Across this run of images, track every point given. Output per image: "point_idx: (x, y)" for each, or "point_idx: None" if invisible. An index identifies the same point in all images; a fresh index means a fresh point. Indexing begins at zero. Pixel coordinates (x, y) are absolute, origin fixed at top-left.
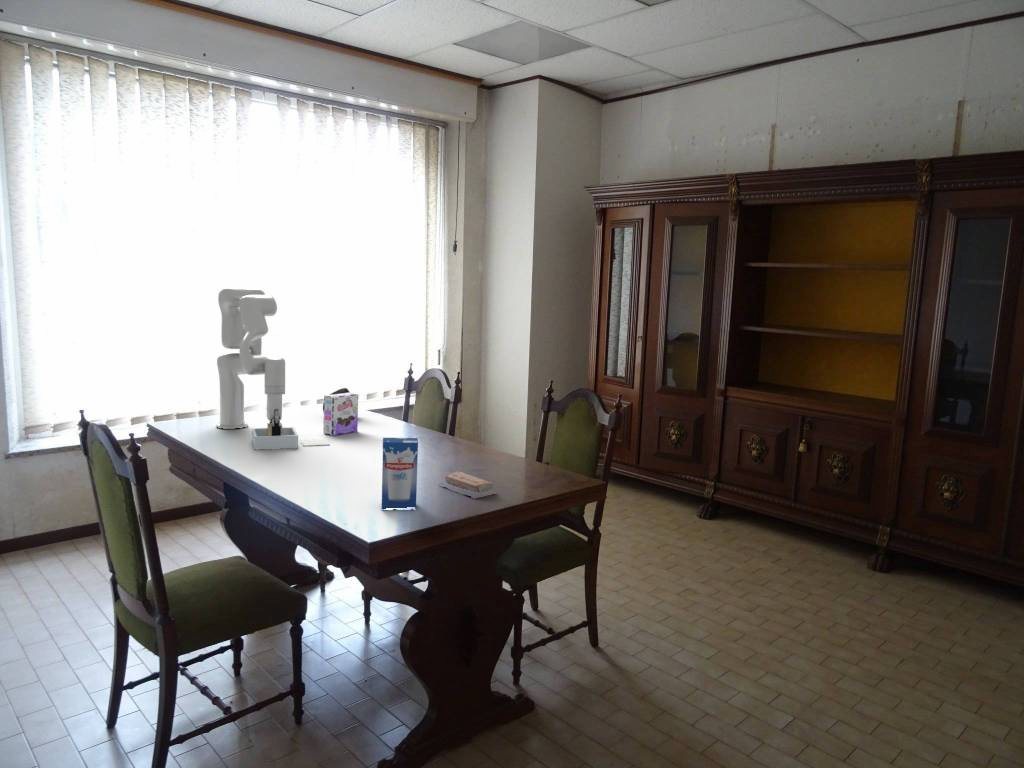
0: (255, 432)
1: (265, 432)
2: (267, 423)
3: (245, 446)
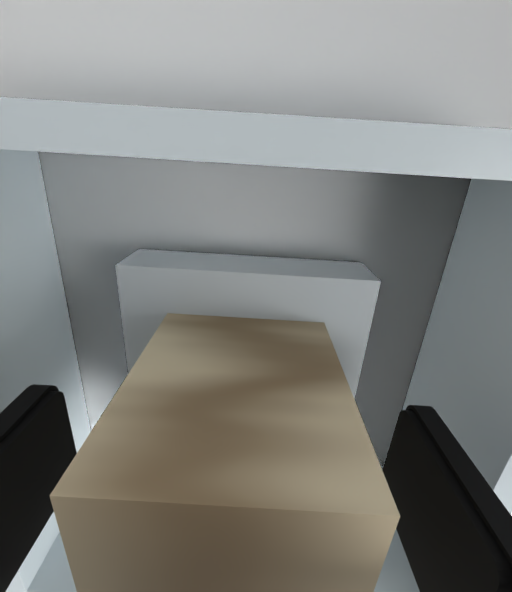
0: (260, 164)
1: (498, 343)
2: (381, 510)
3: (232, 20)
